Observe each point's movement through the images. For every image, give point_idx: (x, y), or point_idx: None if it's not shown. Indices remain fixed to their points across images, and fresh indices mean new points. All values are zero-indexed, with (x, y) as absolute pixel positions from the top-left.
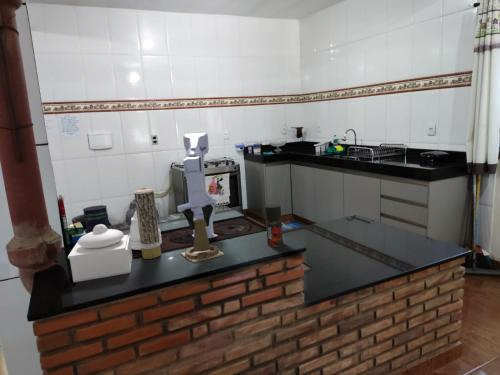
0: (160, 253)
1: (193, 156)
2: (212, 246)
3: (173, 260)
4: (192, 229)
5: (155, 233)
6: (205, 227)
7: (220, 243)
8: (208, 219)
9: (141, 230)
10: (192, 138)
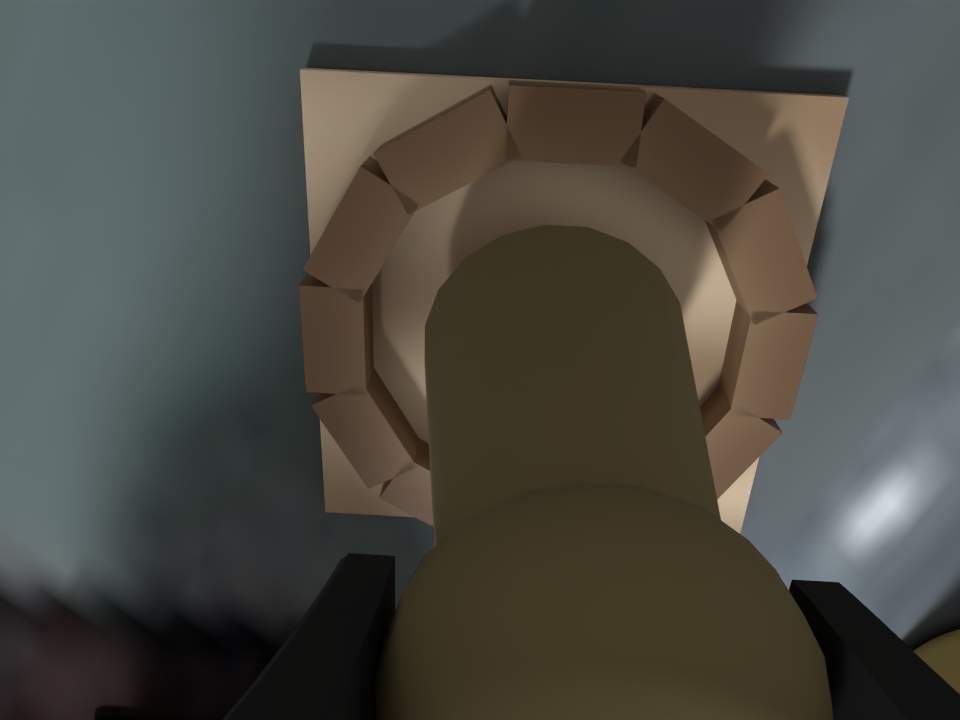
0: (926, 662)
1: None
2: (353, 375)
3: (928, 412)
4: (849, 592)
5: None
6: (476, 515)
7: (157, 514)
8: (295, 698)
9: None
10: None
